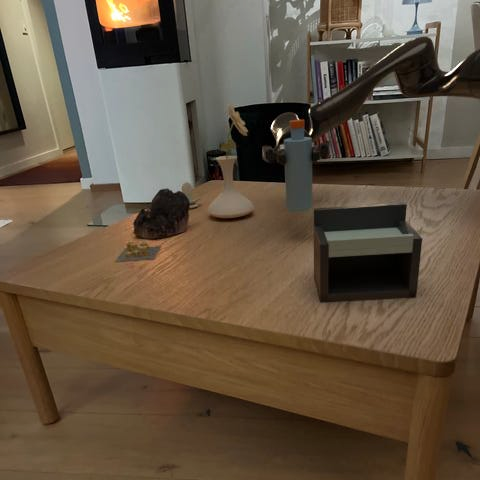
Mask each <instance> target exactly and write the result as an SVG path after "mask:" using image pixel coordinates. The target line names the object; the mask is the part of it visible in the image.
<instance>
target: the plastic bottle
mask: <svg viewBox="0 0 480 480" xmlns="http://www.w3.org/2000/svg"><path fill="white" fill-rule="evenodd" d="M305 126H306V125H305V119H299V120H292V121H290V128H291V138H288V139H285V140H284V152H285V165H284V181H285V182H284V183H285V185H284V186H285V207H286V208H285V209H286V211H288V212H292V213H293V212H294V213H301V212H307V211H311V210H312V209H314V204H313V203H314V202H313V201H314V197H313V194H314V193H313V162H312V138H310V137H304V129H305Z"/></svg>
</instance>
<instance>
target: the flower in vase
mask: <svg viewBox="0 0 480 480" xmlns="http://www.w3.org/2000/svg"><path fill="white" fill-rule="evenodd" d="M226 108H227V112H228V115H229V116H230V119H231V121H232V123H231V125H230V128H229V129H228V134H227V140H226V143H225V142H222V144H221V146H220V148H219V150H220V151H222V152H225V155H222V156H218V157H215V160H216V161H217V163H218V164H219V166H220V168H221V173H222V178H223V189H222V191H221V193H220V194H219V195H218V196H217V197H216V198H215V199H214V200H213V201H212V202H211V203H210V205H209V206H208V209H207V213H208V214H209V215H210V216H212V217H215V218H217V219H218V218H219V219H235V218H240V217H245V216H247V215H249V214H250V213H252V212H253V211H254V209H255V206H254V203H253V202H252V201H251V200H250V199H248V198H247V197H246V196H244V195H243V194H242V193H240V192H239V191H238V190H237V189H236V187H235V185H234V165H235V162H236V160H237V158H238V156H237V155H228V154H229V153H228V152H229V150H230V149H232V150H235V149H237V145H236V142H235V141H234V139H231V138H230V136H231V133H232V129H233V127H234V126H235V128H236V129H237V130H238V132H239V133H240V134H241V135H243V136H244V137H247V136H248V134H247V133H249V130H248V129H247V127H246V126H245V125H246V122H245V120H242V119H243V118H241V116H240V112H239V111H235V108H234V105H233V104H229V103H227V106H226Z"/></svg>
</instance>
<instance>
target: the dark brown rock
mask: <svg viewBox="0 0 480 480" xmlns="http://www.w3.org/2000/svg"><path fill="white" fill-rule="evenodd" d="M189 207H190V202H189V199H188V198H187V196H186V195H185V194H184V193H183V192H182V190H177V191H176V192H173V190H171V189H169V188H161V189H159V190H158V191H157V193H156V194H155V195H154V197H153V198H152V199H151V202H150V204H149V205H148V206H147V208H146V209H144V208H141V209H140V211H138V213H137V215H136V218H135V219H134V220H133V224H132V225H133V235H135V236H139V237H140V238H143V239H147V240H154V239H155V240H156V239H162V238H166V237H171V236H175V235H177V234H181V233H184V232H185V231H186V230H187V227H188V222H189V218H190V213H189V212H190V211H189V210H190V208H189Z"/></svg>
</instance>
